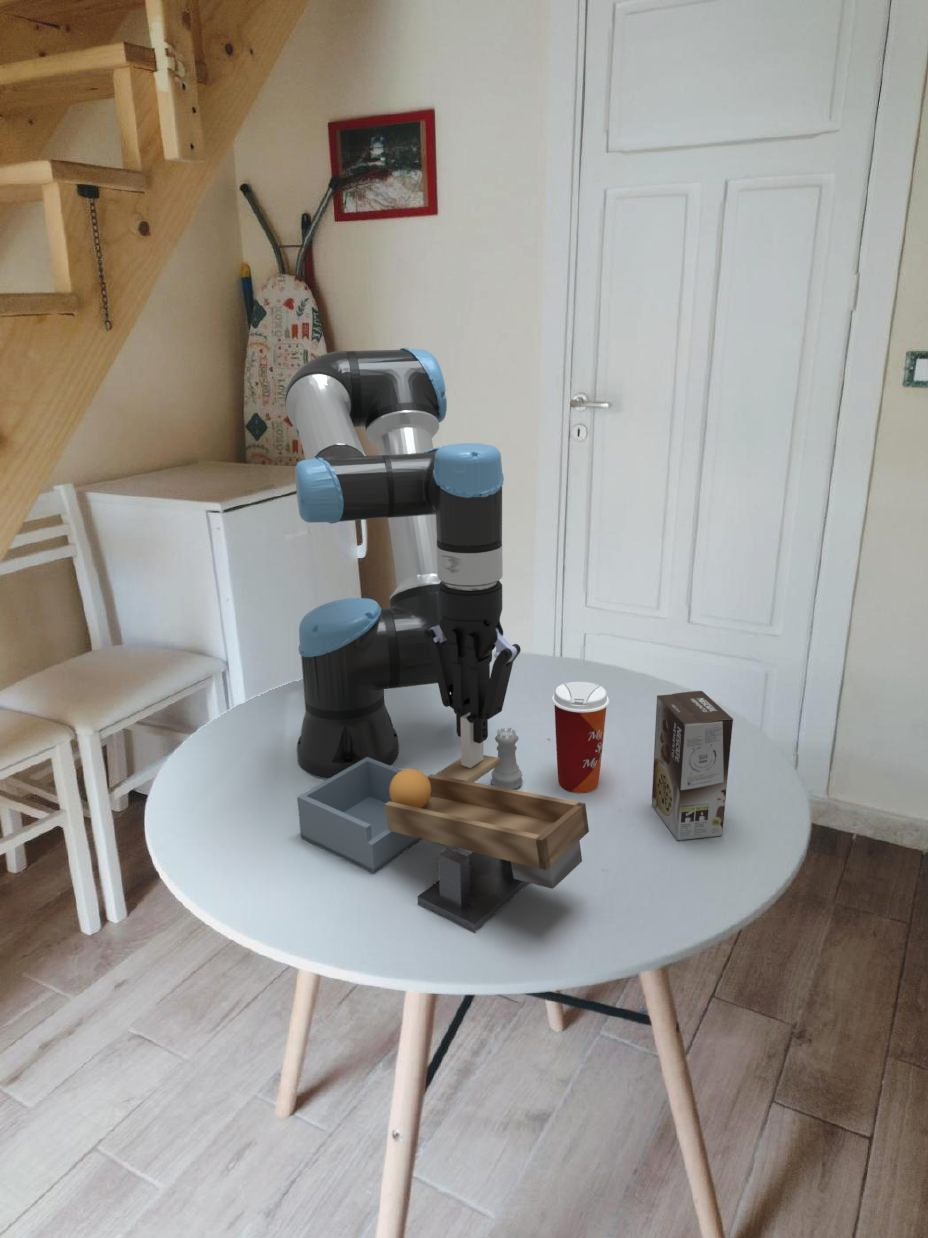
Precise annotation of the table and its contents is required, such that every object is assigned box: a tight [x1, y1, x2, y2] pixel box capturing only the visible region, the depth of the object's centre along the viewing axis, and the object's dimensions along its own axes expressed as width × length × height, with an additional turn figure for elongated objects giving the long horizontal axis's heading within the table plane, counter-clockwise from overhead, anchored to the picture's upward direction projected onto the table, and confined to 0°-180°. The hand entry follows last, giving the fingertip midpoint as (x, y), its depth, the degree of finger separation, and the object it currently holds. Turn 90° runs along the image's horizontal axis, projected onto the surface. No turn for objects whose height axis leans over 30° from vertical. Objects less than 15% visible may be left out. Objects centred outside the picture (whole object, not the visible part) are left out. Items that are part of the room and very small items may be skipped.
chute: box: [384, 754, 590, 890], centre depth 101 cm, size 22×16×6 cm
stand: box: [417, 847, 530, 933], centre depth 100 cm, size 8×15×7 cm, turn 142°
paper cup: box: [551, 681, 610, 794], centre depth 120 cm, size 8×8×14 cm
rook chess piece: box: [490, 727, 524, 790], centre depth 121 cm, size 4×4×8 cm
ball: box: [389, 768, 431, 808], centre depth 104 cm, size 5×5×5 cm
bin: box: [296, 757, 423, 874], centre depth 110 cm, size 13×13×6 cm
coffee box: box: [651, 690, 734, 841], centre depth 110 cm, size 9×6×16 cm
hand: (472, 762), depth 109 cm, fingers closed
